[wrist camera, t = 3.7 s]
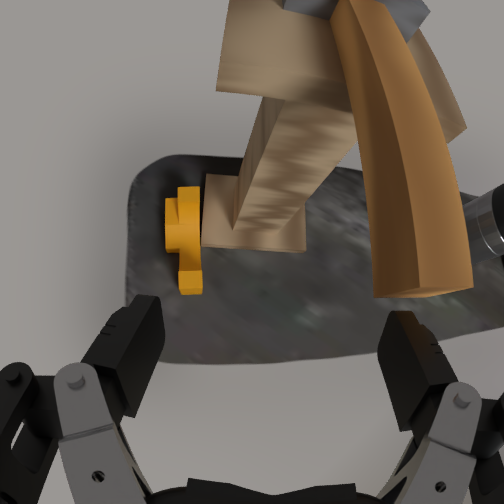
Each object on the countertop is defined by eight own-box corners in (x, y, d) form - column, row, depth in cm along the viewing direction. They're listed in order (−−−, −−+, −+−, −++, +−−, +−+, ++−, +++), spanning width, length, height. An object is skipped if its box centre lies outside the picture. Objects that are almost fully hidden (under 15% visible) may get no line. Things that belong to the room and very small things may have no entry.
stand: (300, 187, 46) (419, 28, 16) (302, 253, 43) (467, 128, 14) (206, 178, 43) (234, -25, 14) (200, 246, 41) (219, 61, 11)
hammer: (389, 19, 15) (411, -14, 12) (469, 295, 11) (532, 281, 7) (280, -14, 14) (293, -55, 11) (297, 296, 9) (351, 279, 6)
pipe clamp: (167, 207, 42) (163, 187, 35) (198, 206, 42) (199, 186, 36) (168, 295, 39) (163, 289, 33) (201, 294, 40) (202, 288, 33)
